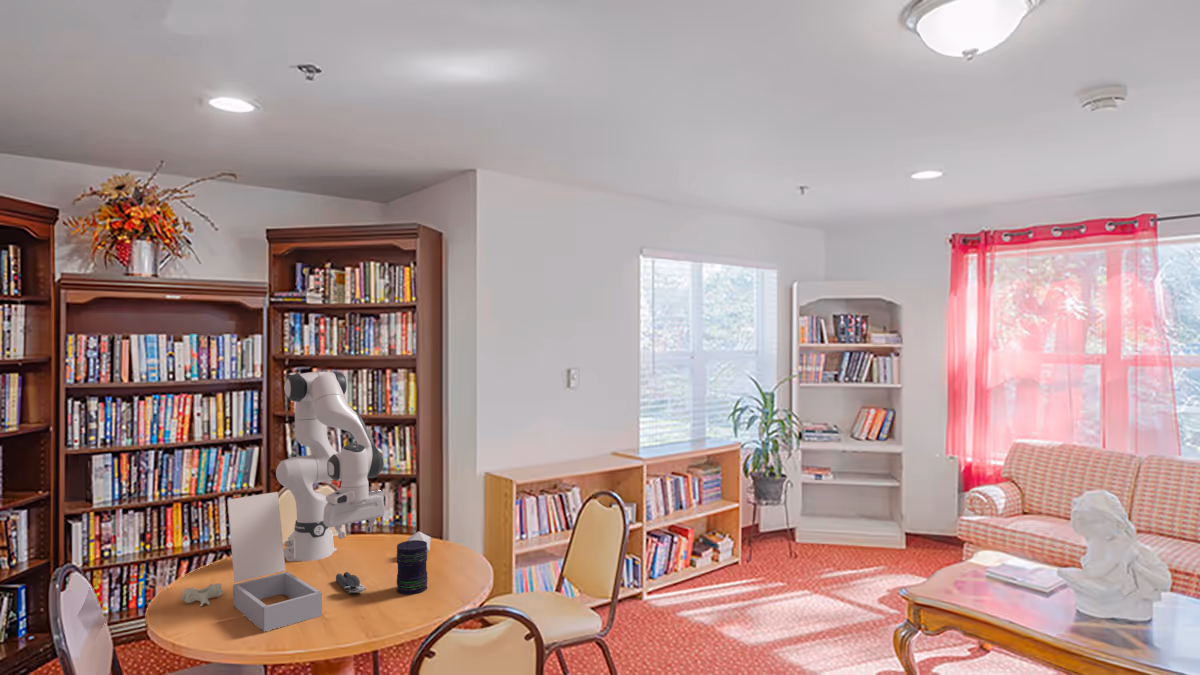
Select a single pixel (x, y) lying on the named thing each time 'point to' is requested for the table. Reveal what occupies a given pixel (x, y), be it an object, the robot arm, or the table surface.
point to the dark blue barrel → (412, 567)
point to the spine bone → (202, 594)
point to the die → (421, 539)
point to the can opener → (349, 582)
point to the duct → (283, 613)
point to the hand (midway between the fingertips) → (355, 535)
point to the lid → (256, 536)
